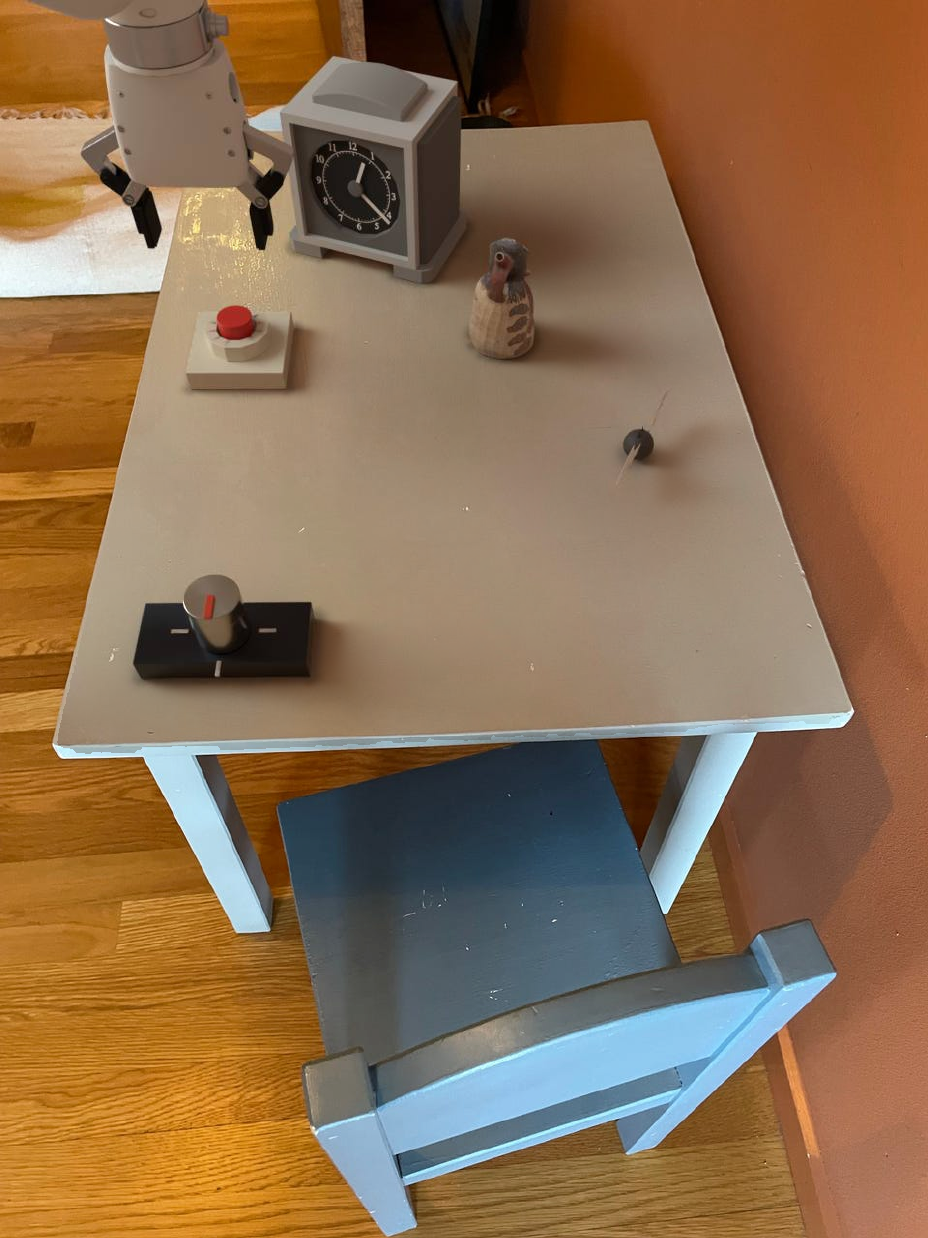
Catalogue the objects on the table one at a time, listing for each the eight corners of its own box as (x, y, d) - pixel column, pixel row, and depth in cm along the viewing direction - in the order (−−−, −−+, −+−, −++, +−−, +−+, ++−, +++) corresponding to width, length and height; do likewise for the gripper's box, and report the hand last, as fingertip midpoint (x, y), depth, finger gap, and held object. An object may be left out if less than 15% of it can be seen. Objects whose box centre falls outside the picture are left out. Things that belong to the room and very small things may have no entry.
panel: (138, 693, 75) (128, 676, 72) (155, 607, 79) (147, 589, 77) (308, 691, 75) (304, 674, 73) (316, 605, 80) (312, 587, 77)
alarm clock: (287, 249, 108) (261, 90, 93) (333, 192, 115) (317, 34, 100) (429, 285, 105) (427, 125, 90) (469, 223, 112) (473, 66, 97)
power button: (217, 341, 94) (214, 327, 92) (222, 318, 96) (218, 304, 94) (252, 341, 94) (249, 327, 92) (256, 318, 96) (253, 304, 94)
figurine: (544, 331, 101) (555, 232, 91) (516, 368, 97) (524, 270, 87) (487, 310, 103) (492, 212, 93) (457, 347, 99) (459, 248, 89)
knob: (200, 609, 76) (185, 572, 72) (253, 609, 76) (241, 571, 72) (193, 654, 74) (177, 618, 69) (248, 653, 74) (235, 617, 69)
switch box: (190, 389, 95) (180, 358, 91) (203, 327, 100) (195, 296, 97) (286, 389, 95) (280, 358, 92) (294, 327, 101) (288, 296, 97)
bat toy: (675, 413, 94) (686, 377, 90) (622, 510, 87) (630, 476, 83) (648, 403, 95) (657, 368, 91) (593, 499, 87) (600, 464, 83)
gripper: (281, 10, 69) (309, 217, 83) (54, 6, 69) (121, 214, 83) (269, 58, 65) (301, 267, 79) (27, 54, 65) (103, 264, 79)
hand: (209, 240), depth 81 cm, fingers open, 9 cm apart
